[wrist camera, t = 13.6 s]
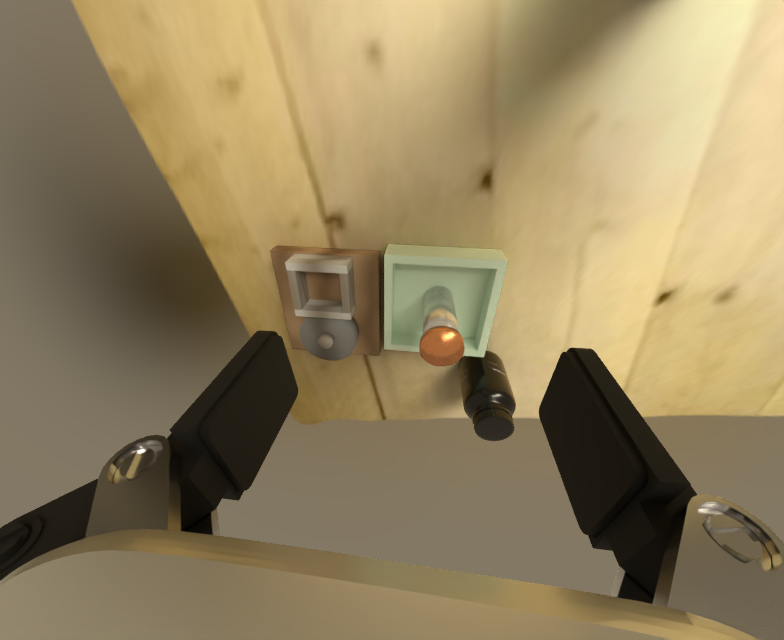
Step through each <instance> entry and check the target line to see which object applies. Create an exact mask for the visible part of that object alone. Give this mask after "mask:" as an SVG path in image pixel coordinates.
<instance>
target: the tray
mask: <svg viewBox="0 0 784 640" xmlns="http://www.w3.org/2000/svg"><path fill="white" fill-rule="evenodd" d="M507 264H508V260H507V258H506V257H505V255H504V254H503V252H502V251H501V249H481V248H461V247H441V246H421V245H401V244H388V246H387V249H386V251H385V254H384V349H387V350H400V351H412V352H420V350H419V347H420V338H421V336H422V335H423V302H424V295H425V293H426V291H427V290H428V289H430V288H431V287H434V286H444V287H446V288H448V289H449V290H450V291H451V292H452V294H453V299H454V305H455V311H456V317H457V323H458V329H459V333H460V334H461V335H462V337H463V341H464V347H465V350H464V354H463V356H474V357H484V355H485V351H486V347H487V343H488V340H489V336H490V332H491V328H492V324H493V320H494V316H495V312H496V308H497V304H498V300H499V296H500V292H501V288H502V284H503V280H504V276H505V272H506V268H507Z"/></svg>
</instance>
